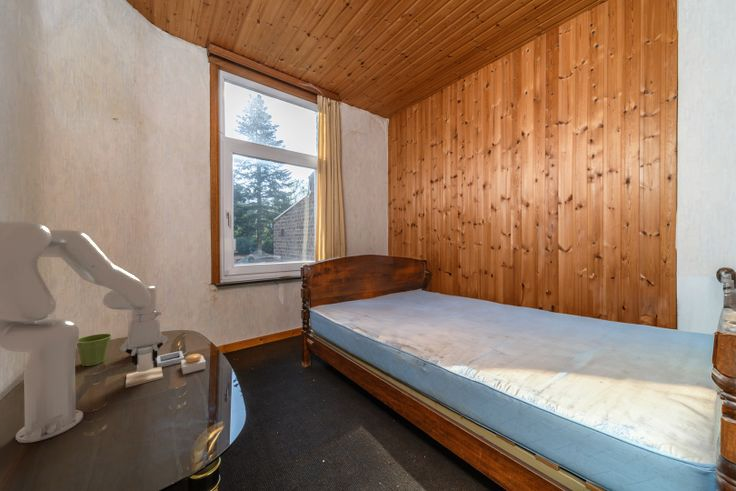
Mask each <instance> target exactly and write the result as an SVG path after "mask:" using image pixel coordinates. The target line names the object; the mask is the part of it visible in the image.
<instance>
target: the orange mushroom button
mask: <svg viewBox="0 0 736 491" xmlns="http://www.w3.org/2000/svg"><path fill="white" fill-rule="evenodd" d="M201 356H202V354H201V353H192V354H188V355H187V356H185V357H184V359H185V361H186V362H190V363H192V362H196V361H198V360H200V359H201Z"/></svg>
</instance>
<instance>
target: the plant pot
mask: <svg viewBox="0 0 736 491" xmlns="http://www.w3.org/2000/svg"><path fill="white" fill-rule="evenodd" d="M112 337H113V334H112V333H97V334H91V335H86V336H82V337H79V339H78V343H77V347H76V349H77V350H78V354H79V358H80V363H81V365H82V366H83V367H85V366H86V367H92V366H96V364H97V365H99V364H101V363H104V362H105V361H106V357H107V354H108V348H109V344H110V341H111V338H112Z"/></svg>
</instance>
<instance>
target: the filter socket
mask: <svg viewBox="0 0 736 491" xmlns="http://www.w3.org/2000/svg"><path fill="white" fill-rule="evenodd" d="M178 356H179V357H178ZM184 359H185V356H184V353H183V351H182V350H179V351H174V352H169V353H164V354H160V355H157V358H156V365H157V367H159V366H161V367H162V368H164V367H167V366H172V365H177V364H181V360H184Z"/></svg>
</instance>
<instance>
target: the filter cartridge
mask: <svg viewBox="0 0 736 491" xmlns="http://www.w3.org/2000/svg"><path fill="white" fill-rule="evenodd" d="M136 353H137V365H136V372H144V371H148V370H150V369H152V368H154V361H153V345H147V346H142V347H137V350H136Z"/></svg>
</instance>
